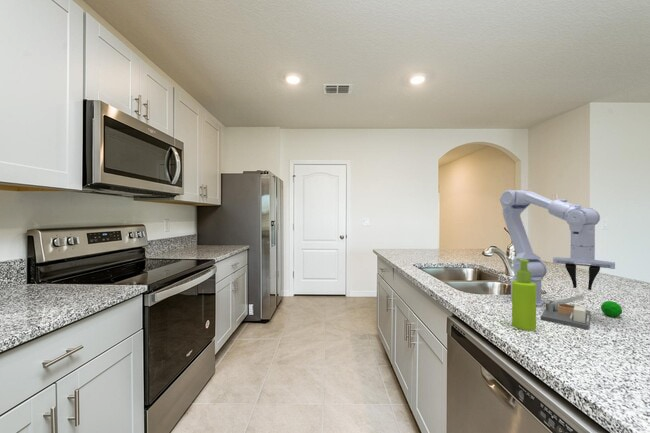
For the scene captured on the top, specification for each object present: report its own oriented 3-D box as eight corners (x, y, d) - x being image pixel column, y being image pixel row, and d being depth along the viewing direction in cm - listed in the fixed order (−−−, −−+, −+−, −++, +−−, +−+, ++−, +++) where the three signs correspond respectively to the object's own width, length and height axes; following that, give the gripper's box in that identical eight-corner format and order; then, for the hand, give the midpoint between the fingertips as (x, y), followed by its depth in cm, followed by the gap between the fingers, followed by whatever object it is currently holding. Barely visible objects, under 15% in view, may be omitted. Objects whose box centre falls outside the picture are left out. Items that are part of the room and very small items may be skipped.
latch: (573, 320, 85) (573, 309, 85) (574, 316, 89) (574, 305, 89) (585, 323, 83) (585, 311, 83) (586, 318, 87) (586, 307, 87)
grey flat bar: (551, 306, 94) (549, 304, 94) (552, 304, 96) (550, 302, 96) (583, 299, 88) (581, 296, 88) (583, 297, 90) (582, 294, 91)
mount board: (540, 319, 89) (540, 307, 89) (548, 306, 102) (548, 296, 102) (588, 329, 81) (588, 316, 81) (590, 314, 94) (590, 303, 94)
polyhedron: (597, 314, 94) (597, 300, 94) (605, 312, 96) (605, 298, 96) (617, 319, 89) (617, 304, 89) (625, 317, 91) (625, 303, 91)
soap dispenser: (530, 323, 86) (530, 258, 86) (539, 331, 80) (539, 261, 80) (508, 320, 88) (508, 257, 88) (515, 329, 82) (515, 260, 82)
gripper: (551, 245, 92) (551, 286, 92) (615, 248, 82) (615, 295, 82) (554, 243, 97) (554, 282, 97) (614, 247, 87) (614, 290, 87)
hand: (582, 288), depth 90 cm, fingers open, 3 cm apart
